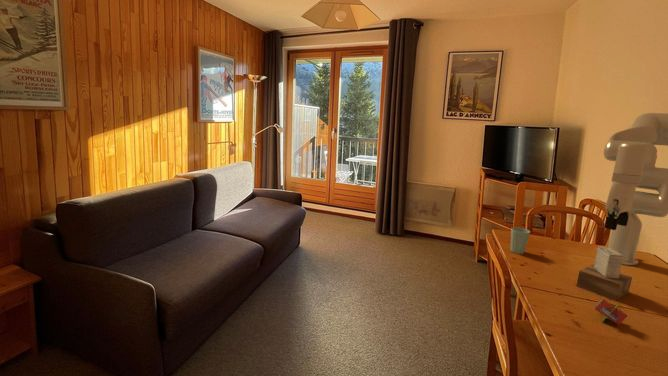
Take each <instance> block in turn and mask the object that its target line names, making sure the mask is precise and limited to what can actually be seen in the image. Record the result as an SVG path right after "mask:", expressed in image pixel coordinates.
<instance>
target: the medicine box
mask: <svg viewBox="0 0 668 376" xmlns="http://www.w3.org/2000/svg"><path fill="white" fill-rule="evenodd" d="M622 260H623V255H621V254H620V253H618V252H616V251H615V250H613V249H611V248H608V247H605V246H604V247H603V246H598V247H597V250H596V254H595V260H594V263H593V265H594V269H595V270H597V271H598V272H599V273H601V274H602V275H603V276H605V277H607V278H616V279H618V278H619V275H620V273H621V270H622V265H623V264H622Z"/></svg>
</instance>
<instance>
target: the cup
mask: <svg viewBox="0 0 668 376" xmlns="http://www.w3.org/2000/svg"><path fill="white" fill-rule="evenodd" d="M530 234H531V231H530V230H528V229H527V228H522V227H511V228H510V252H512V253H514V254H517V255H524V253H525V251H526V247H527V244H528V241H529V238H530V236H531V235H530Z"/></svg>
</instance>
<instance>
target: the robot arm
mask: <svg viewBox="0 0 668 376" xmlns="http://www.w3.org/2000/svg"><path fill="white" fill-rule="evenodd" d="M656 146H667V147H668V113H666V112H665V113H663V112H662V113H661V112H659V113H658V112H648V113H643V114H641V115H639V116H637V117H636V118H635V120H634V122H633V124H631V125H629V126H628V128H627V129H624V130H621V131H617V132H615V133H613V134H612V135H611V136H610V137H609V138H608V140H607V142H606V143H605V145H604V148H603V157H604V159H606V160H607V161H610V162H614V163H615V164H614V167H613V172H612V177H611V183H612V184H611V186H610V189H609V193H608V196H607V200H606V204H605V208H604V209H605V210H606V211H607V214H606V218H605V222H604V229H608V230H611V233H610V239H609V242H608V247H607V248H611V249H613V250H615V251H616V252H618V253H620V254H621V255H623V260H622V265H623V266H624V265H626V266H637V265H639V260H638V259H636V258H635V256H636V254H637V249H638V244H639V240H640V236H641V232H642V227H643V224H642V223H643V222H642V220H641V219H640V218H639V216H638V215H644V216H649V217H655V218H665V217H666V216H667V215H668V168H666V167H665V168H664V167H656V162H657V158H658V149H657V147H656ZM636 188H637V189H644V190H650V191H657V193H653V192H646V191H640V190H636Z"/></svg>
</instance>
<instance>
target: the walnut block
mask: <svg viewBox="0 0 668 376" xmlns="http://www.w3.org/2000/svg"><path fill="white" fill-rule="evenodd" d="M632 281H633V276H630V275H627V274H624V273H621V272H620V275H619V278H618V279H616V278H607V277H605V276H603V275H602V274H601V273H599V272H598V271H597V270H595V269H594V264H591V265H589V266H587V267H585V268H583V269H580V270H579V271H578V277H577V282H576V287H578V288H581V289H584V290H586V291H589V292H591V293H593V294H596V295H599V296H602V297H604V298H607V299H609V300H612V301H614V302H617V301H618V300H620V299H621V298H623V297H624V296H625V295H627V294H629V292H630V288H631V284H632Z"/></svg>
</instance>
